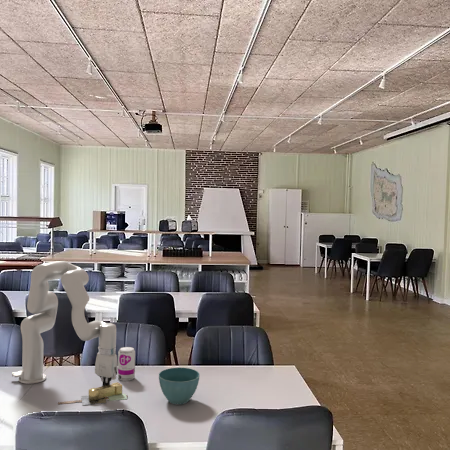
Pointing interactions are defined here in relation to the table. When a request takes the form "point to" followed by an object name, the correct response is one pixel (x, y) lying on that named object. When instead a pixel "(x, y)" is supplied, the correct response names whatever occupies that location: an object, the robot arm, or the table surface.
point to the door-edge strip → (77, 401)
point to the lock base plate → (88, 402)
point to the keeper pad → (117, 397)
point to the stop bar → (105, 391)
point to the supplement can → (126, 363)
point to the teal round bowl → (178, 384)
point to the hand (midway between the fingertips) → (106, 389)
